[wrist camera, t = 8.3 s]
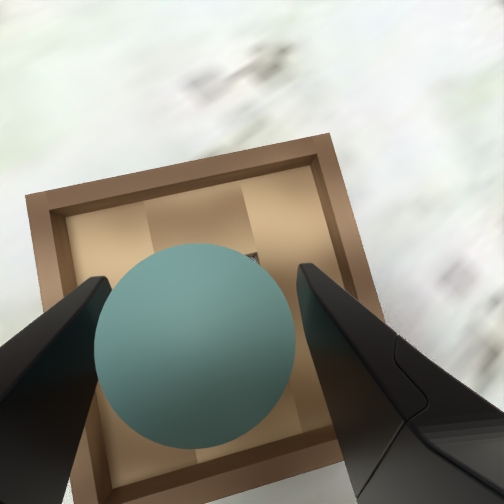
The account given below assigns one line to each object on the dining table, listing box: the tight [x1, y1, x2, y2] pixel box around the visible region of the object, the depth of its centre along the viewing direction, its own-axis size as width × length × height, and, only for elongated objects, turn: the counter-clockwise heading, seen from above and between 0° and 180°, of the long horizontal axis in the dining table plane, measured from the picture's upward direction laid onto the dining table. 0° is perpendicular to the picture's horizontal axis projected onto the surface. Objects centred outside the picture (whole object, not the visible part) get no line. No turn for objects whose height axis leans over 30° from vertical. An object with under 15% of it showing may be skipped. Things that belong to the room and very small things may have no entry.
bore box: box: [25, 133, 386, 504], centre depth 17 cm, size 16×16×4 cm
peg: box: [94, 243, 296, 449], centre depth 12 cm, size 4×4×12 cm
